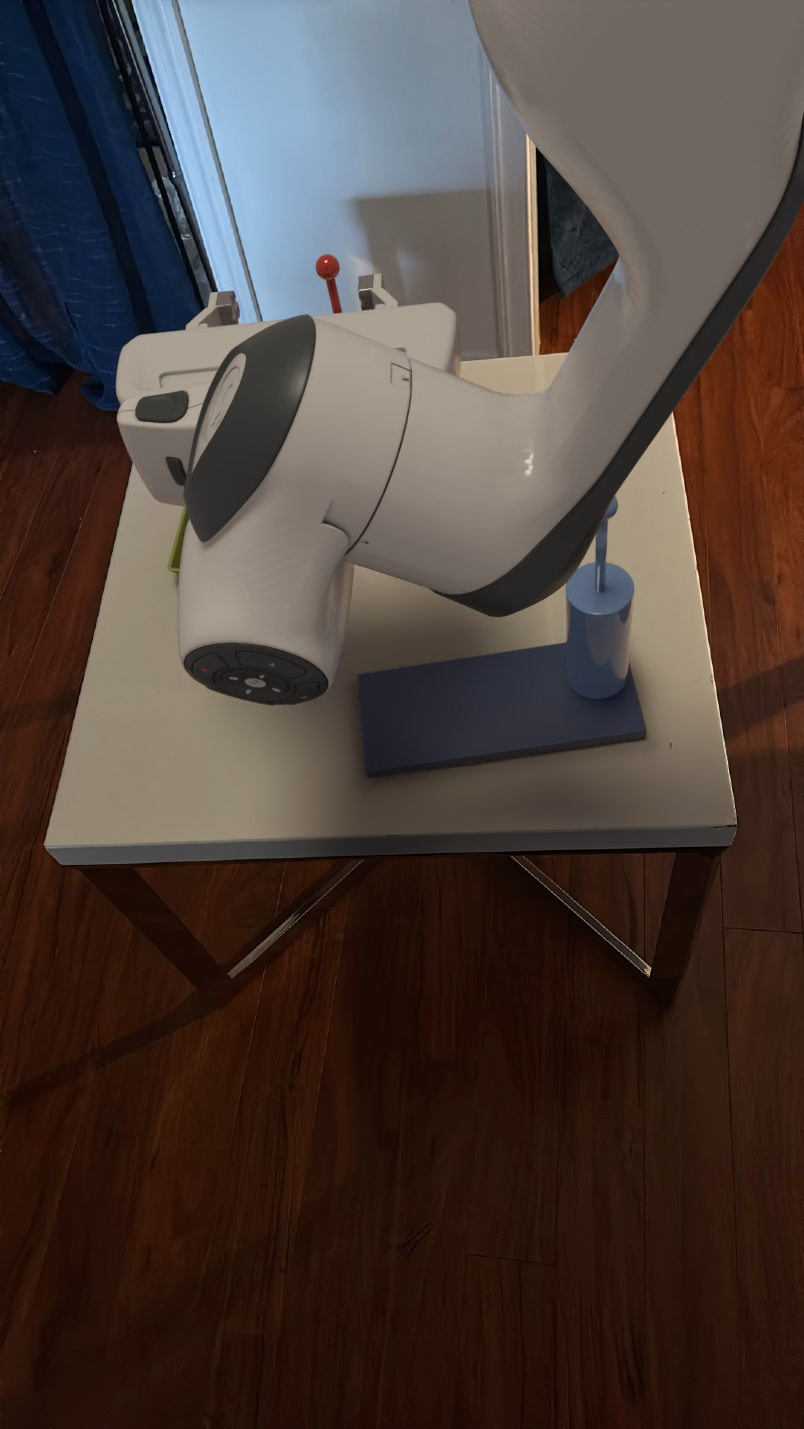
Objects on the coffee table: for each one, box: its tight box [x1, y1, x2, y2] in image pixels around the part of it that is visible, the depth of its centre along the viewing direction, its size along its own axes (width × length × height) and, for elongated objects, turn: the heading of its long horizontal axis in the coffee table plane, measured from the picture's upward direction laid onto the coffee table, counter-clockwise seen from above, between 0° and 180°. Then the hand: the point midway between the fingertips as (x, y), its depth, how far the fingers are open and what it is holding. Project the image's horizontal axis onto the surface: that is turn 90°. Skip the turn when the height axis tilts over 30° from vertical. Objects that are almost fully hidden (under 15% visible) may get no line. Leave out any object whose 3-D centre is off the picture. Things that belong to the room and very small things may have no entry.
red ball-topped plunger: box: [315, 253, 343, 314], centre depth 84 cm, size 4×4×18 cm
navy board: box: [357, 641, 647, 779], centre depth 76 cm, size 20×9×1 cm, turn 95°
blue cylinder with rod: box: [564, 495, 635, 699], centre depth 68 cm, size 4×4×18 cm
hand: (298, 292), depth 65 cm, fingers open, 8 cm apart
